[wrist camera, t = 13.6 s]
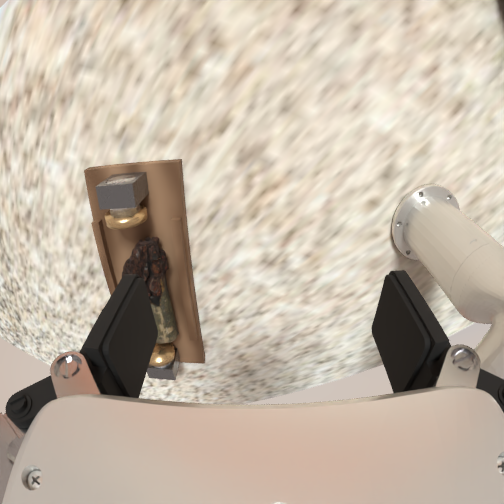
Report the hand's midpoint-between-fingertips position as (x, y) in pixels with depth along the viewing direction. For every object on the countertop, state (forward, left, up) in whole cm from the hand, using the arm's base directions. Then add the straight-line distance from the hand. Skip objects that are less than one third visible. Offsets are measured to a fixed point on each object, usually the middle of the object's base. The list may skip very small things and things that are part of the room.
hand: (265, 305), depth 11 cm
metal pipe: (+16, +19, -29) cm, 38 cm away
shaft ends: (+17, +19, -28) cm, 38 cm away
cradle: (+17, +19, -30) cm, 39 cm away
